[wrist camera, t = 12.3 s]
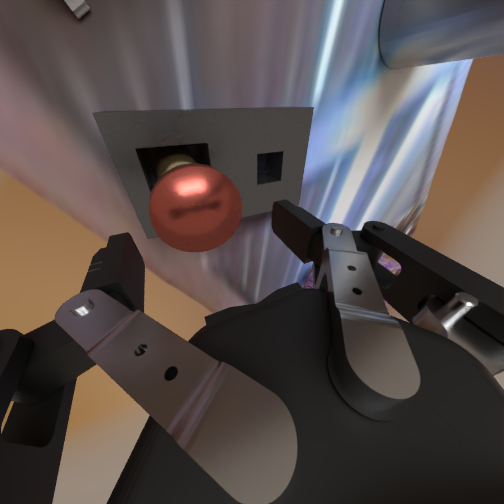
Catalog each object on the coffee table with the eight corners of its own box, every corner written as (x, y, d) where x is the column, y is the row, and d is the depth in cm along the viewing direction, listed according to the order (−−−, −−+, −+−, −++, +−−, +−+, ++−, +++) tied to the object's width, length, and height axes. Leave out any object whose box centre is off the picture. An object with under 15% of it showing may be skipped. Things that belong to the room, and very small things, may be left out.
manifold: (293, 106, 20) (313, 107, 18) (284, 195, 27) (298, 204, 24) (100, 111, 15) (92, 112, 12) (147, 222, 21) (147, 238, 18)
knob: (199, 137, 18) (240, 160, 11) (208, 192, 22) (243, 240, 14) (136, 141, 17) (131, 174, 9) (157, 201, 20) (166, 261, 12)
